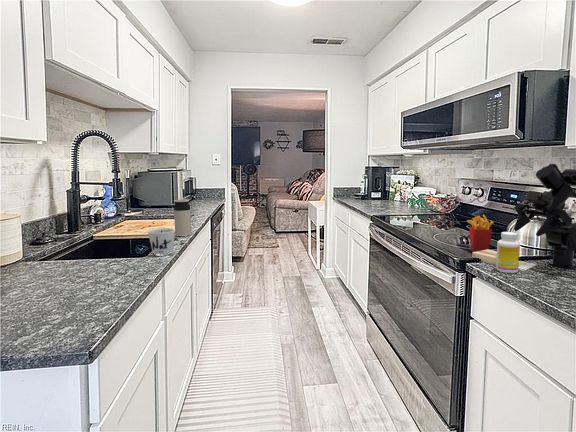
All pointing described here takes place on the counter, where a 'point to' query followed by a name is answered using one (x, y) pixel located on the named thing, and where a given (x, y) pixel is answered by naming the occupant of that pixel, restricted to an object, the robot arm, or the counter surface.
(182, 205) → the travel mug
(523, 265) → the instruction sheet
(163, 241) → the mug
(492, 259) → the base block
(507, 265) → the supplement bottle
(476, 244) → the french fries
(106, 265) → the counter surface
